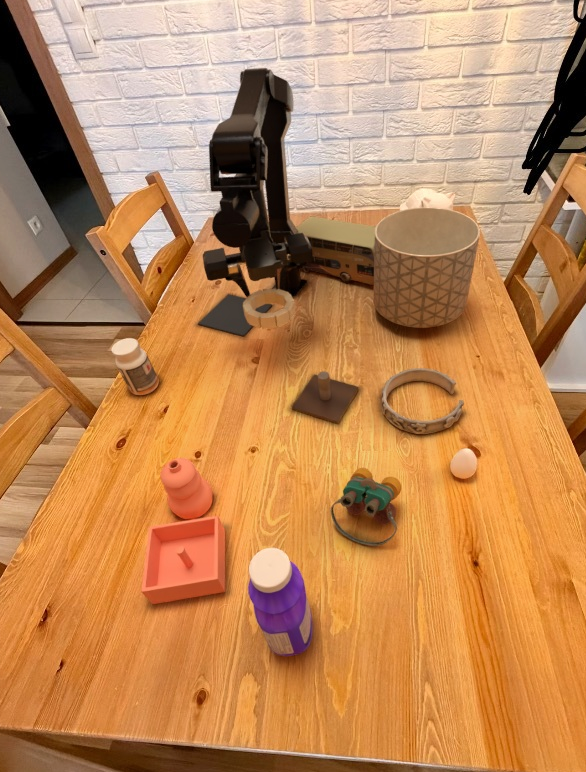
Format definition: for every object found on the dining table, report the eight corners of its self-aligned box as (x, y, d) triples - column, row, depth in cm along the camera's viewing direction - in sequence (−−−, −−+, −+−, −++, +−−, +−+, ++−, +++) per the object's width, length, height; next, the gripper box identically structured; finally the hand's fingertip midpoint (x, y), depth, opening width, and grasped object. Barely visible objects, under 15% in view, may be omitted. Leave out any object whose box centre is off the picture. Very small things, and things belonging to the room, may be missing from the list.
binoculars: (397, 539, 66) (413, 476, 63) (381, 572, 58) (397, 502, 55) (337, 517, 69) (349, 456, 66) (313, 546, 61) (326, 478, 58)
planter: (361, 330, 95) (360, 248, 82) (387, 281, 107) (391, 202, 93) (454, 347, 90) (469, 262, 76) (471, 294, 101) (487, 212, 88)
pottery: (225, 591, 60) (206, 558, 53) (152, 604, 60) (123, 572, 53) (224, 479, 72) (209, 440, 65) (164, 489, 72) (142, 450, 65)
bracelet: (404, 369, 86) (405, 356, 84) (474, 395, 81) (477, 383, 78) (366, 415, 79) (366, 403, 77) (439, 448, 73) (442, 436, 71)
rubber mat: (228, 295, 108) (228, 294, 108) (272, 305, 104) (272, 304, 103) (198, 324, 101) (197, 323, 101) (243, 337, 97) (243, 335, 96)
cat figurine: (388, 230, 123) (391, 163, 111) (427, 225, 124) (434, 158, 111) (414, 280, 106) (421, 207, 94) (458, 273, 107) (471, 201, 94)
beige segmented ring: (265, 294, 89) (264, 283, 87) (304, 308, 85) (303, 297, 83) (234, 318, 84) (232, 307, 82) (274, 335, 80) (273, 323, 78)
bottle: (267, 600, 59) (240, 536, 46) (311, 595, 59) (296, 530, 46) (267, 662, 54) (238, 609, 41) (315, 657, 54) (300, 602, 41)
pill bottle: (163, 376, 90) (145, 335, 83) (153, 397, 86) (134, 356, 79) (136, 375, 91) (116, 335, 84) (125, 396, 87) (103, 356, 80)
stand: (314, 377, 87) (312, 352, 82) (358, 389, 84) (358, 365, 79) (292, 409, 82) (287, 385, 77) (338, 424, 78) (336, 399, 74)
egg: (472, 485, 68) (479, 463, 64) (447, 478, 70) (452, 456, 66) (476, 465, 71) (482, 443, 67) (451, 459, 72) (456, 437, 68)
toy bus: (377, 291, 104) (376, 249, 97) (293, 272, 114) (287, 233, 107) (397, 270, 109) (397, 228, 102) (315, 253, 119) (310, 215, 112)
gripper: (196, 250, 69) (220, 333, 81) (316, 227, 71) (323, 311, 83) (192, 218, 76) (215, 298, 88) (301, 198, 78) (309, 279, 90)
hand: (265, 297), depth 87 cm, fingers closed on beige segmented ring, 5 cm apart
